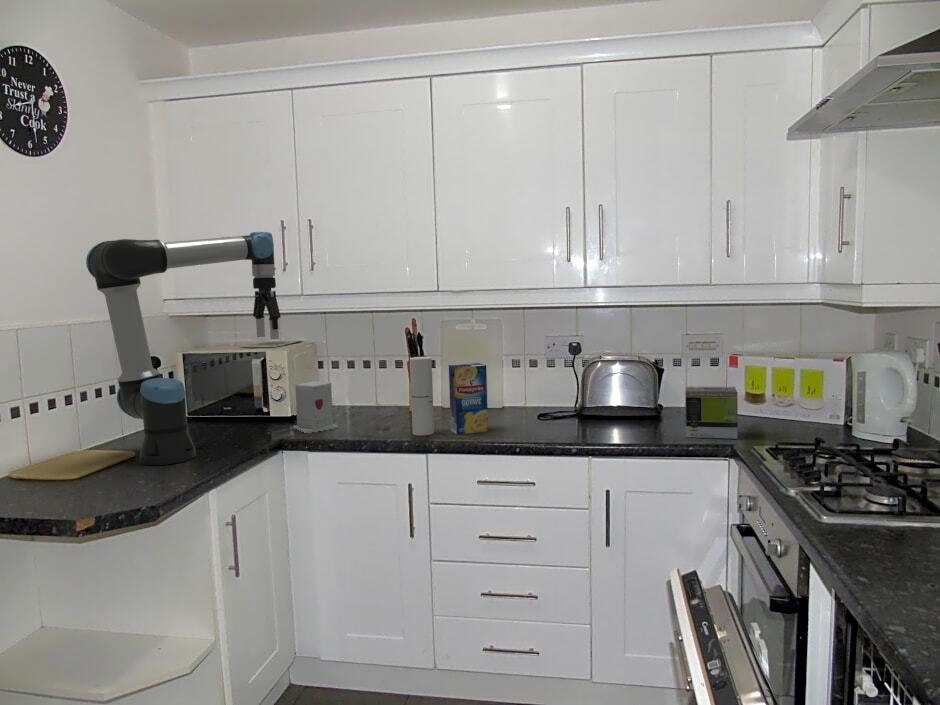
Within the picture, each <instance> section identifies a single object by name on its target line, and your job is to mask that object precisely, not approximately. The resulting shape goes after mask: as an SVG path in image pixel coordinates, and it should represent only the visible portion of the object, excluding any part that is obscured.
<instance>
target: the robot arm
mask: <svg viewBox="0 0 940 705" xmlns="http://www.w3.org/2000/svg"><path fill="white" fill-rule="evenodd" d="M274 246H275V244H274V238H273V234H272V233H271V232H269V231H252V232H250V234H249V235H238V236H221V237H215V238H202V239H191V240H179V241H178V240H177V241H167V242H163V241H162V240H160V239H127V238H123V239H121V238H120V239H115V240H105V241H101V242H100V243H97V244H96V245H94V246H92V247H91V248H90V250H89V251H88V253H87V256H86V260H85V264H86V269H87V270H88V272H89V274H90V276H92V277H93V278H94V280H95V284H96V288H97V291H99V292H101V294H103V295H104V298H105V301H106V306H107V310H108V311H107V312H108V315H109V320H110V324H111V328H112V334H113V337H114V343H115V347H116V351H117V355H118V360H119V365H120V370H121V374H120V376H118V378H117V382H118V387H119V388H118V390H117V393H116V401H117V402H116V403H117V404H118V407H119V409H120V410H121V411H122V412H123V413H125V414H126V415H128V416H129V417H131V418H134V419H136V420H137V419H139V420H143V421H142V422H143V423H142V424H143V435H144V436H143V441H142V444H141V448H140V451H139V463H140V464H142V465H145V466H146V465H147V466H163V465H166V466H167V465H172V464H177V463H179V464H180V463H183V462H186V461H189V460H192V459H194V458H195V457H196V456H197V454H196V446H195V444H194V442H193V440H192V437H191V435H190V433H189V430H188V417H187V416H188V415H187V404H186V391H185V386H184V383H183V382H182V381H181V380H179V379H176V378H167V377H161V374H160V371H159V370H158V369H156V368H154V367H153V363H152V358H151V352H150V348H149V344H148V343H149V342H148V339H147V334H146V330H145V325H144V318H143V315H142V310H141V305H140V301H139V295H138V292H137V291H138V288H140V286H141V284H142V283H141V278H143V277H147V276H151V275H156V274H157V275H158V274H164V273H166V272H167V271H168V269H176V268H184V267H192V266H193V267H194V266H202V265H209V264H218V263H225V262H226V263H227V262H235V261H237V262H238V261H243V260H245V261H251V274H252V277H254V278H253V279H252V284H253V285H252V286H253V289H254V290H255V291H254V301H253V302H254V303H253V304H254V305H253V313H252V316H253V317H254V318H255V325H256V326H255V327H256V338H264V337H266V329H265V328H266V326H265V316H264V315H265V314H264V313H265V310H267V313H268V316H269V318H268V320H269V334H270V336H269V337H270V340H278V339H279V340H280V334H279V333H280V332H279V330H280V329H279V319H281V318H282V317H281V313H280V312H281V311H280V308H279V304H278V300H277V294H276V290H272V289H275V288H276V287H277V286H276V282H277V281H276V277H274V276H276V272H275V271H276V270H277V269H276V267H275V253H274V252H275V248H274Z"/></svg>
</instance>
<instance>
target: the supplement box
mask: <svg viewBox="0 0 940 705" xmlns="http://www.w3.org/2000/svg"><path fill="white" fill-rule="evenodd" d="M294 389H295V405H296V408H295V410H296V425H297V426H298V427H304V428H311V429H317V428H321V427H325V426H329V425H333V424H334V419H333V416H334V415H333V398H332V395H333V394H332V382H329V381H328V382H327V381H317V380H314V381H309V382H308V381H307V382H303V383H297V384H295V388H294Z"/></svg>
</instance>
